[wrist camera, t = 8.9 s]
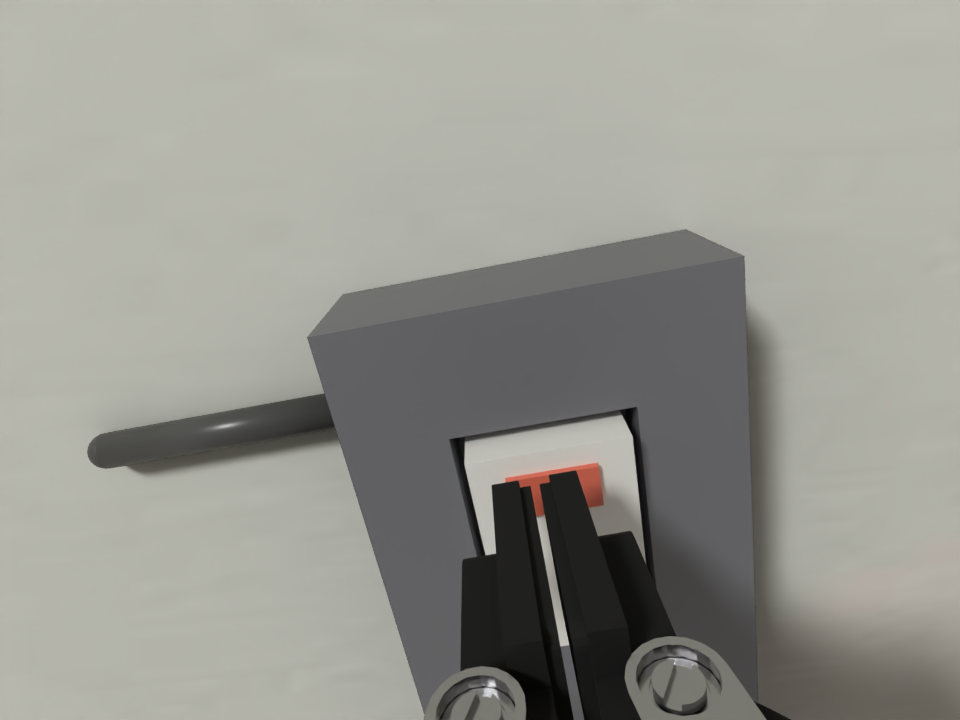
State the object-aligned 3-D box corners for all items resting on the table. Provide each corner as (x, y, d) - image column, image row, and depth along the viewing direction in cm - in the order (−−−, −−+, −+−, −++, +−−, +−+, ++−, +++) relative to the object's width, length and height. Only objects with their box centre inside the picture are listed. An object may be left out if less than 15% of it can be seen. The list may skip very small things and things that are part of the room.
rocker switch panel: (724, 815, 23) (764, 927, 20) (304, 869, 24) (277, 985, 21) (685, 229, 15) (744, 255, 12) (56, 348, 16) (-50, 403, 13)
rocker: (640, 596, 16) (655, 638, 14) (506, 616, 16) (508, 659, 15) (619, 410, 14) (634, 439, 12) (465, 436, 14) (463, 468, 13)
